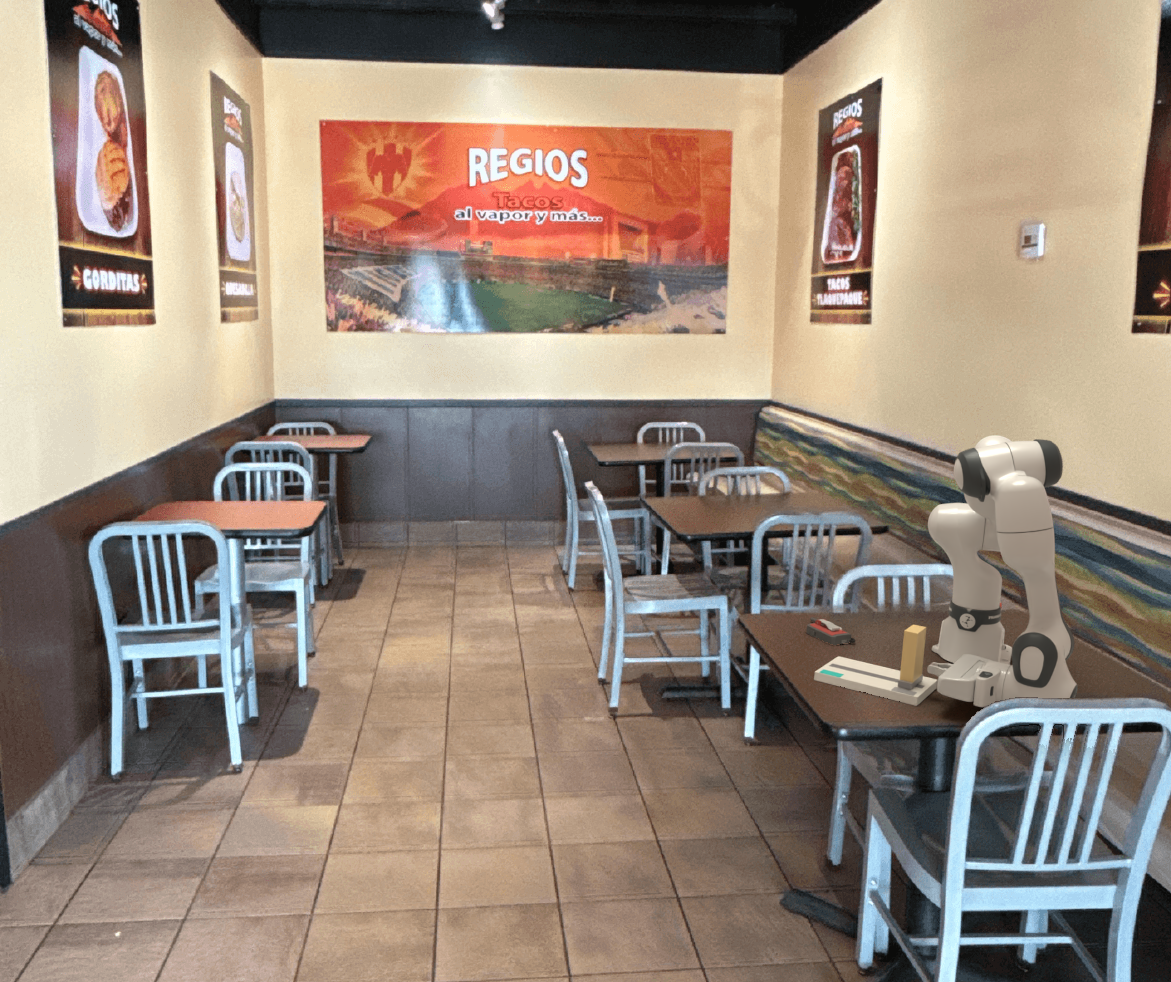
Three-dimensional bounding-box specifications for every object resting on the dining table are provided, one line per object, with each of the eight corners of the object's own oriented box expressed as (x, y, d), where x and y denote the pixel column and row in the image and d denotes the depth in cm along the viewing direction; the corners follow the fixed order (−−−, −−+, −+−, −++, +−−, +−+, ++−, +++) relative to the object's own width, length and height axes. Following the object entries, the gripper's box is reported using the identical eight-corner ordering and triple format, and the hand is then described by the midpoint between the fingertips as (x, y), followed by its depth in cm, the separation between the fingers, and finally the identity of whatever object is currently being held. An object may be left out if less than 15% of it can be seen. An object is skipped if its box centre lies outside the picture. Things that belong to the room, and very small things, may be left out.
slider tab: (909, 676, 240) (914, 623, 237) (922, 680, 238) (927, 626, 235) (897, 686, 233) (902, 631, 231) (910, 689, 231) (916, 634, 229)
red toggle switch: (862, 645, 269) (813, 622, 286) (863, 629, 268) (815, 607, 286) (834, 649, 265) (787, 626, 283) (836, 632, 264) (788, 610, 282)
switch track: (837, 664, 253) (838, 655, 252) (936, 688, 239) (937, 679, 239) (814, 680, 242) (814, 671, 241) (916, 706, 228) (917, 697, 228)
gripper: (1007, 655, 232) (945, 642, 240) (982, 681, 216) (916, 666, 224) (1004, 682, 234) (942, 668, 241) (979, 710, 217) (913, 693, 225)
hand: (929, 667), depth 232 cm, fingers closed
